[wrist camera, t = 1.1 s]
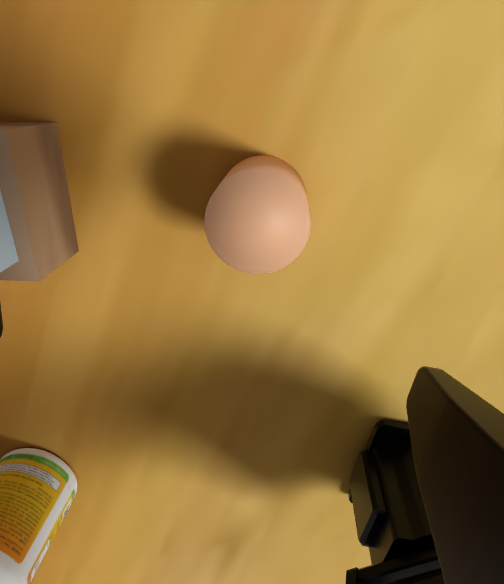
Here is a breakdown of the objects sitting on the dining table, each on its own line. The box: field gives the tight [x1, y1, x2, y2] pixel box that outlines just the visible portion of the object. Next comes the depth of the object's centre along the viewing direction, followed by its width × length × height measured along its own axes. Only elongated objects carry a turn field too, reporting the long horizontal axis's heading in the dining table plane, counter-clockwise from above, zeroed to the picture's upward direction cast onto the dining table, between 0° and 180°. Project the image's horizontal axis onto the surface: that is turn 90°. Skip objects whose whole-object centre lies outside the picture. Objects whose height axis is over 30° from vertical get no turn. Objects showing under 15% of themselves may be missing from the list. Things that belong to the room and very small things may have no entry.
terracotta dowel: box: [204, 155, 311, 274], centre depth 18 cm, size 4×4×4 cm
